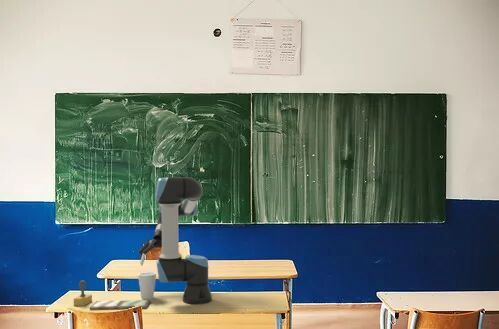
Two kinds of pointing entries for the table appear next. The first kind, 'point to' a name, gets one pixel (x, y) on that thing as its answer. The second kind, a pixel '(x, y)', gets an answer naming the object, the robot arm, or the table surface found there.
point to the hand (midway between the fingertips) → (153, 264)
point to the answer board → (119, 304)
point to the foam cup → (147, 284)
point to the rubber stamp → (82, 296)
